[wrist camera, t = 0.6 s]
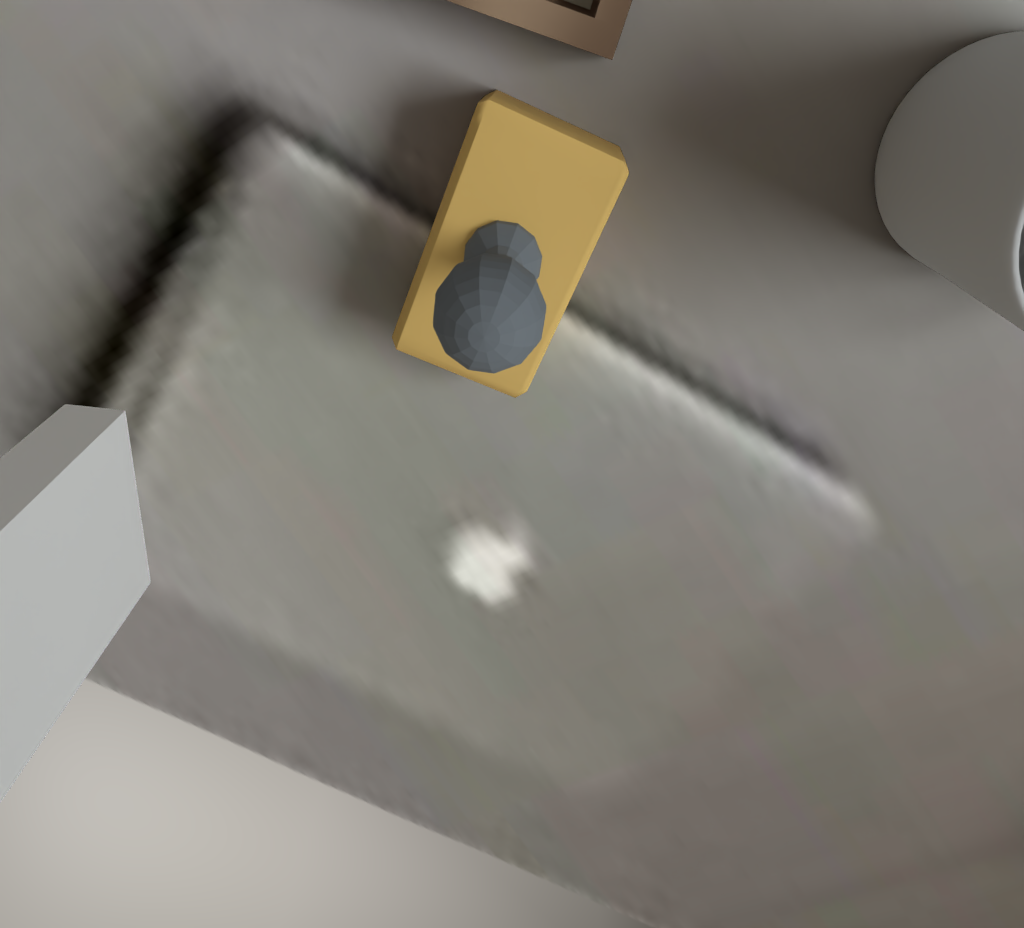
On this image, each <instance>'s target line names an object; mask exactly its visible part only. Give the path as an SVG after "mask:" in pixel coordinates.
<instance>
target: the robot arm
mask: <svg viewBox="0 0 1024 928" xmlns="http://www.w3.org/2000/svg"><path fill="white" fill-rule="evenodd" d="M150 583H151V580H150V573H149V567H148V560H147V553H146V546H145V540H144V533H143V526H142V519H141V513H140V506H139V499H138V492H137V486H136V479H135V472H134V466H133V459H132V452H131V445H130V439H129V432H128V425H127V418H126V412H125V410H116V409H106V408H97V407H87V406H77V405H67V404H65V405H64V406H63V407H61V408H60V409H59V410H58V411H56V412H55V413H54V414H53V415H52V416H50V417H49V418H48V419H47V420H46V421H44V422H43V423H42V424H41V425H40V426H38V427H37V428H36V429H35V430H34V431H32V432H31V433H30V434H29V435H28V436H26V437H25V438H24V439H23V440H22V441H20V442H19V443H18V444H17V445H16V446H14V447H13V448H12V449H11V450H10V451H8V452H7V453H6V454H5V455H4V456H2V457H1V458H0V802H1V800H2V799H3V798H4V796H5V795H6V793H7V792H8V791H9V789H10V788H11V786H12V785H13V783H14V782H15V780H16V779H17V777H18V776H19V774H20V773H21V771H22V770H23V769H24V767H25V766H26V764H27V763H28V761H29V760H30V758H31V757H32V755H33V754H34V753H35V751H36V749H37V748H38V747H39V745H40V744H41V742H42V741H43V739H44V738H45V736H46V735H47V733H48V732H49V731H50V729H51V728H52V726H53V725H54V723H55V722H56V720H57V719H58V717H59V716H60V714H61V713H62V711H63V710H64V709H65V707H66V706H67V704H68V702H69V701H70V700H71V698H72V697H73V695H74V694H75V692H76V691H77V689H78V688H79V686H80V685H81V684H82V682H83V681H84V679H85V678H86V676H87V675H88V673H89V672H90V671H91V669H92V668H93V666H94V665H95V663H96V662H97V660H98V659H99V657H100V656H101V654H102V653H103V651H104V650H105V649H106V647H107V646H108V644H109V643H110V641H111V640H112V638H113V637H114V635H115V634H116V632H117V631H118V630H119V628H120V627H121V625H122V624H123V622H124V621H125V619H126V618H127V616H128V615H129V613H130V612H131V610H132V609H133V608H134V606H135V605H136V603H137V602H138V600H139V599H140V597H141V596H142V594H143V593H144V591H145V590H146V589H147V587H148V586H149V584H150Z"/></svg>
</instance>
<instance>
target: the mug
mask: <svg viewBox="0 0 1024 928" xmlns="http://www.w3.org/2000/svg"><path fill="white" fill-rule="evenodd" d="M875 193H876V200H877V204H878V208H879V212H880V214H881V217H882V219H883V222H884V224H885V226H886V228H887V229H888V231H889V233H890V235H891V236H892V237H893V238H894V240H895V241H896V242H897V243H898V244H899V245H900V246H901V247H902V248H903V249H904V250H905V251H906V252H907V253H909V254H910V255H911V256H912V257H913V258H915V259H916V260H918V261H920V262H921V263H923V264H924V265H926V266H928V267H929V268H931V269H933V270H934V271H936V272H938V273H939V274H941V275H942V276H944V277H945V278H947V279H948V280H950V281H951V282H953V283H954V284H956V285H957V286H959V287H960V288H962V289H963V290H964V291H966V292H967V293H969V294H970V295H972V296H973V297H975V298H976V299H978V300H979V301H980V302H982V303H983V304H985V305H986V306H988V307H989V308H991V309H992V310H994V311H995V312H997V313H998V314H999V315H1001V316H1002V317H1004V318H1005V319H1007V320H1008V321H1010V322H1011V323H1013V324H1014V325H1016V326H1017V327H1018V328H1020V329H1021V330H1023V331H1024V31H1017V32H1010V33H1004V34H998V35H995V36H992V37H988V38H985V39H982V40H980V41H977V42H975V43H973V44H970V45H968V46H966V47H964V48H962V49H960V50H958V51H957V52H955V53H953V54H952V55H950V56H948V57H947V58H945V59H944V60H943V61H941V62H940V63H938V64H937V65H936V66H934V67H933V68H932V69H931V70H930V71H929V72H927V73H926V74H925V75H924V76H923V77H922V78H921V79H920V80H919V81H918V82H917V83H916V84H915V85H914V87H913V88H912V89H911V90H910V91H909V92H908V93H907V95H906V96H905V98H904V99H903V100H902V102H901V103H900V104H899V106H898V107H897V109H896V111H895V113H894V114H893V116H892V118H891V120H890V121H889V123H888V126H887V128H886V130H885V133H884V135H883V138H882V141H881V144H880V147H879V151H878V155H877V161H876V166H875Z"/></svg>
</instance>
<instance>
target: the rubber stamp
mask: <svg viewBox="0 0 1024 928" xmlns="http://www.w3.org/2000/svg"><path fill="white" fill-rule="evenodd" d="M628 175H629V171H628V168H627V164H626V161H625V158H624V156H623V154H622V151H621V149H620V147H619V146H617V145H615V144H613V143H610V142H608V141H606V140H604V139H602V138H600V137H598V136H595V135H593V134H591V133H589V132H587V131H585V130H582V129H580V128H578V127H576V126H574V125H572V124H570V123H567V122H565V121H563V120H561V119H559V118H557V117H554V116H552V115H550V114H548V113H546V112H544V111H542V110H539V109H537V108H535V107H533V106H531V105H529V104H526V103H524V102H522V101H520V100H518V99H516V98H513V97H511V96H509V95H507V94H505V93H503V92H501V91H498V90H496V91H493V92H491V93H489V94H487V95H485V96H484V97H483V98H482V99H481V100H480V101H479V102H478V104H477V106H476V109H475V111H474V114H473V117H472V120H471V122H470V125H469V128H468V131H467V133H466V136H465V139H464V142H463V144H462V147H461V150H460V152H459V155H458V158H457V161H456V163H455V166H454V169H453V172H452V174H451V177H450V180H449V182H448V185H447V188H446V191H445V193H444V196H443V199H442V202H441V204H440V207H439V210H438V212H437V215H436V218H435V221H434V223H433V226H432V229H431V232H430V234H429V237H428V240H427V242H426V245H425V248H424V251H423V253H422V256H421V259H420V262H419V264H418V267H417V270H416V272H415V275H414V278H413V281H412V283H411V286H410V289H409V292H408V294H407V297H406V300H405V302H404V305H403V308H402V311H401V313H400V316H399V319H398V322H397V324H396V327H395V330H394V333H393V335H392V339H393V341H394V344H395V347H396V349H397V350H399V351H402V352H404V353H407V354H409V355H411V356H414V357H416V358H419V359H421V360H424V361H426V362H429V363H431V364H434V365H436V366H438V367H441V368H443V369H446V370H448V371H451V372H453V373H456V374H458V375H461V376H463V377H466V378H468V379H470V380H473V381H475V382H478V383H480V384H483V385H485V386H488V387H490V388H493V389H495V390H497V391H500V392H502V393H505V394H507V395H510V396H512V397H515V398H516V397H517V396H519V395H521V394H523V393H525V392H526V391H527V390H528V388H529V386H530V383H531V381H532V379H533V377H534V375H535V373H536V371H537V369H538V366H539V364H540V362H541V360H542V358H543V356H544V354H545V352H546V349H547V347H548V345H549V343H550V341H551V339H552V337H553V335H554V332H555V330H556V328H557V326H558V324H559V322H560V320H561V318H562V315H563V313H564V311H565V309H566V307H567V305H568V303H569V301H570V298H571V296H572V294H573V292H574V290H575V288H576V286H577V284H578V281H579V279H580V277H581V275H582V273H583V271H584V269H585V267H586V264H587V262H588V260H589V258H590V256H591V254H592V252H593V250H594V247H595V245H596V243H597V241H598V239H599V237H600V235H601V233H602V230H603V228H604V226H605V224H606V222H607V220H608V218H609V216H610V213H611V211H612V209H613V207H614V205H615V203H616V201H617V199H618V196H619V194H620V192H621V190H622V188H623V186H624V184H625V182H626V179H627V177H628Z"/></svg>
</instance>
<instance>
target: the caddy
mask: <svg viewBox="0 0 1024 928" xmlns="http://www.w3.org/2000/svg"><path fill="white" fill-rule="evenodd" d="M447 1H450V2H452V3H455V4H458V5H461V6H463V7H466V8H469V9H472V10H475V11H477V12H480V13H483V14H486V15H488V16H491V17H494V18H497V19H500V20H502V21H505V22H508V23H511V24H513V25H516V26H519V27H522V28H525V29H527V30H530V31H533V32H536V33H539V34H541V35H544V36H547V37H550V38H552V39H555V40H558V41H561V42H564V43H566V44H569V45H572V46H575V47H577V48H580V49H583V50H586V51H589V52H591V53H594V54H597V55H600V56H603V57H605V58H608V59H611V60H612V59H613V56H614V53H615V50H616V47H617V44H618V41H619V38H620V35H621V32H622V29H623V26H624V23H625V20H626V17H627V14H628V11H629V9H630V6H631V3H632V0H447Z"/></svg>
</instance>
